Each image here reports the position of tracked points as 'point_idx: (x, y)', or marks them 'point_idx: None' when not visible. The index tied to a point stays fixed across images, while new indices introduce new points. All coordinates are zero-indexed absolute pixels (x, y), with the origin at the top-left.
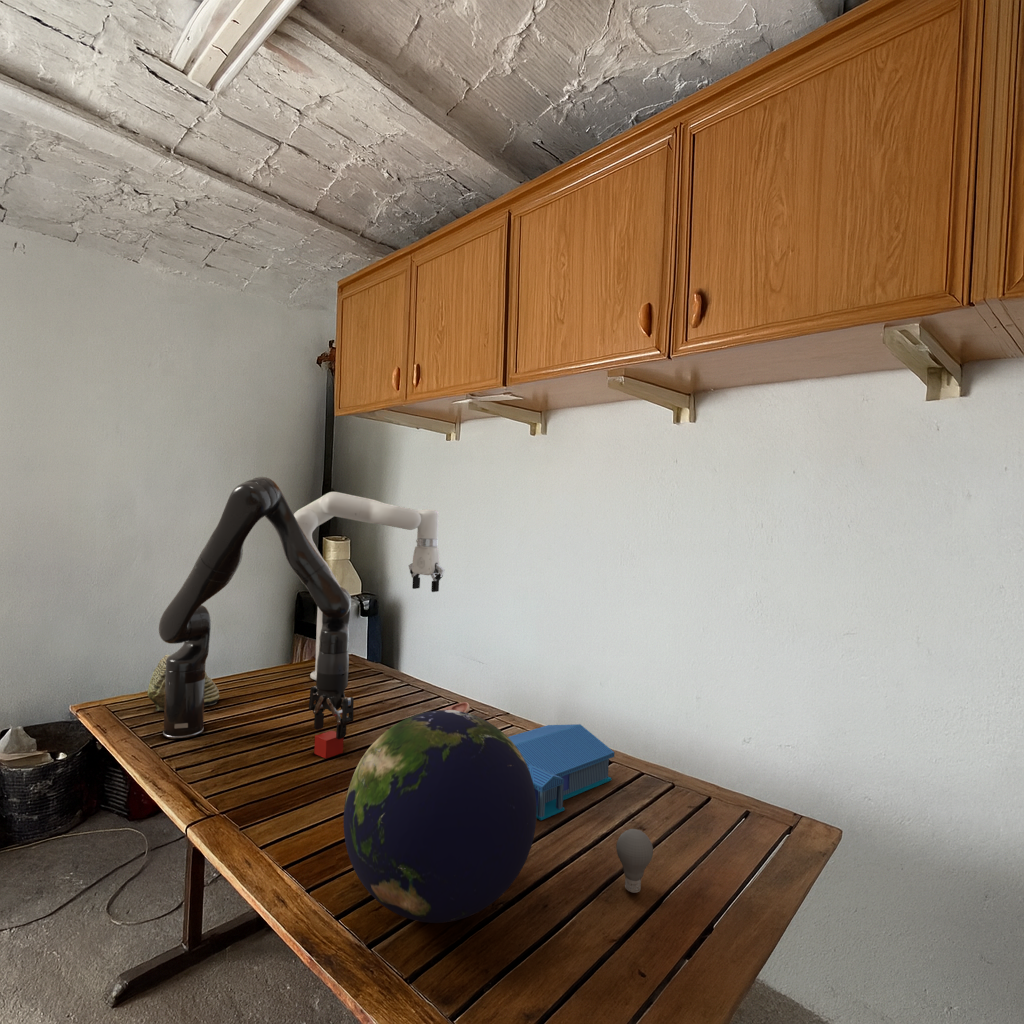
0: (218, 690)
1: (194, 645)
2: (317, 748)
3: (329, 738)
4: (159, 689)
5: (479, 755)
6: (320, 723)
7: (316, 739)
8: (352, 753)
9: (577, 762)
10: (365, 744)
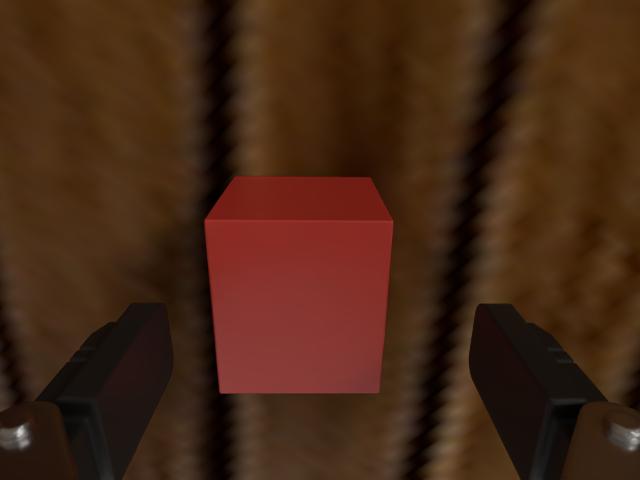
0: None
1: None
2: (337, 189)
3: (229, 270)
4: None
5: None
6: (491, 374)
7: (360, 210)
8: (192, 340)
9: None
10: (254, 454)
